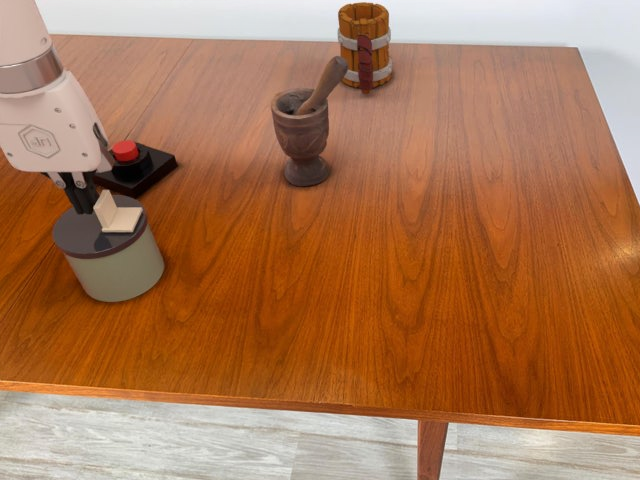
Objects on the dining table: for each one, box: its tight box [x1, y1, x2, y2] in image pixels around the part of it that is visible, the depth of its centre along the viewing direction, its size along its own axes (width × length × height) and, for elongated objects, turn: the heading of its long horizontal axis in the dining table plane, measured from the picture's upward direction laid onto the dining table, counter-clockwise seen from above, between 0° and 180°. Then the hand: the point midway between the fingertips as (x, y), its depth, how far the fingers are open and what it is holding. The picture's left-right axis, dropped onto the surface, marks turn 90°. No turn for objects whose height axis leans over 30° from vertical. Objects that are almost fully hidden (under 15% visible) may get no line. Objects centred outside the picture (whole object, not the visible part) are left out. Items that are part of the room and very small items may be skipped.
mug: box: [337, 1, 393, 95], centre depth 111 cm, size 11×16×15 cm, turn 2°
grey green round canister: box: [52, 194, 165, 303], centre depth 78 cm, size 11×11×9 cm
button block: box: [92, 139, 179, 200], centre depth 95 cm, size 10×10×4 cm
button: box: [111, 139, 139, 161], centre depth 93 cm, size 4×4×2 cm
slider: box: [93, 189, 143, 232], centre depth 73 cm, size 4×4×4 cm
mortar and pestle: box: [270, 55, 348, 187], centre depth 89 cm, size 12×9×20 cm
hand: (89, 207), depth 72 cm, fingers closed
